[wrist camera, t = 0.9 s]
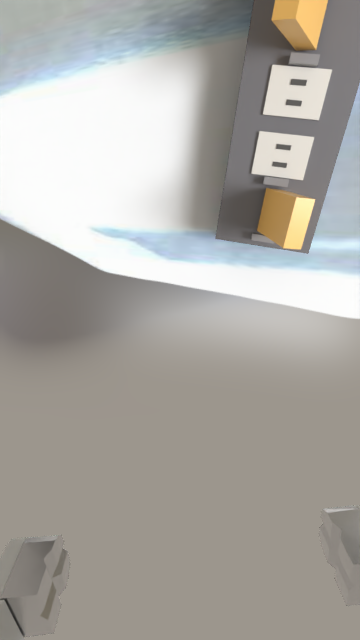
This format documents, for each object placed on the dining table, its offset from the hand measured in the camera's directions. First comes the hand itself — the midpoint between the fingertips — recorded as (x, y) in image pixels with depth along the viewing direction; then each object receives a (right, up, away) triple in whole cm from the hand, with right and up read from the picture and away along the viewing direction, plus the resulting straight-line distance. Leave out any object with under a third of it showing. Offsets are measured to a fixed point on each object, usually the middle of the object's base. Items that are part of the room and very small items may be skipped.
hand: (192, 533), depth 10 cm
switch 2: (+11, +20, +29) cm, 37 cm away
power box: (+13, +30, +30) cm, 45 cm away
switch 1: (+13, +36, +21) cm, 43 cm away
